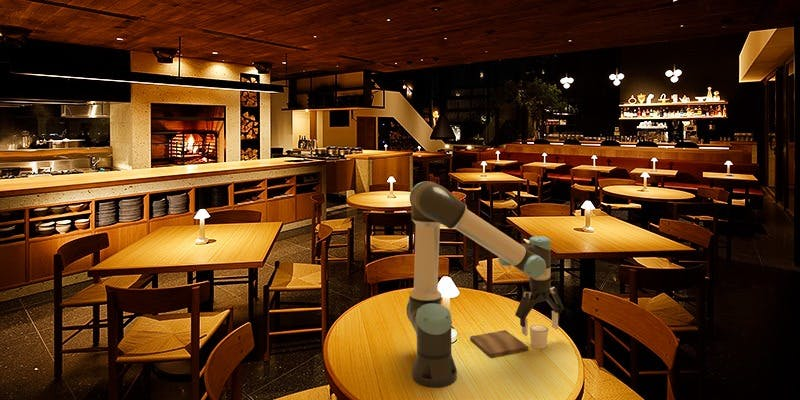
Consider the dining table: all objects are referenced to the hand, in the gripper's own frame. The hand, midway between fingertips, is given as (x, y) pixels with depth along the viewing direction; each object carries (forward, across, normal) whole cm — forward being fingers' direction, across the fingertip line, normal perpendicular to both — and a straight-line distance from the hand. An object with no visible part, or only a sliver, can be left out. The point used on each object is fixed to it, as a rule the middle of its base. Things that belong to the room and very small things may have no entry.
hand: (539, 331), depth 178 cm
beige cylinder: (+6, 0, 0) cm, 6 cm away
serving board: (+6, -14, +6) cm, 17 cm away
